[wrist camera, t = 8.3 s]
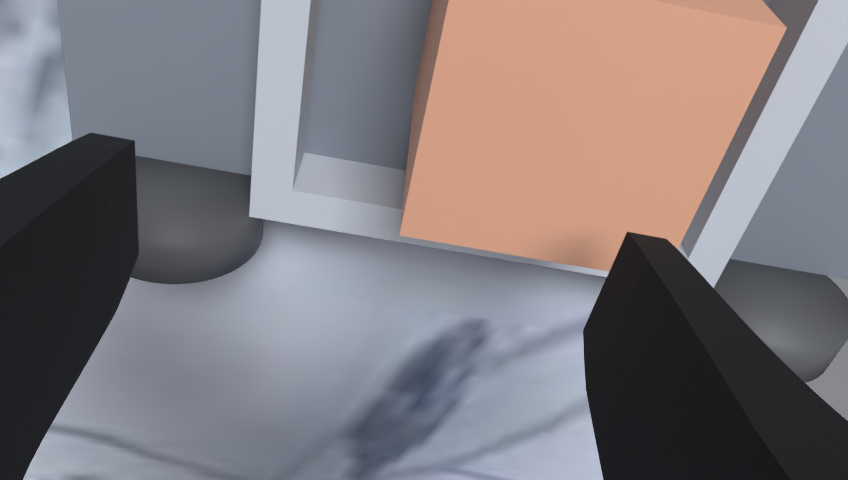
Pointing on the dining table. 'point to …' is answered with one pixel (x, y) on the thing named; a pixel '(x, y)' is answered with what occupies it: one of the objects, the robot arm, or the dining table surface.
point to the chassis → (389, 142)
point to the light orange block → (576, 120)
